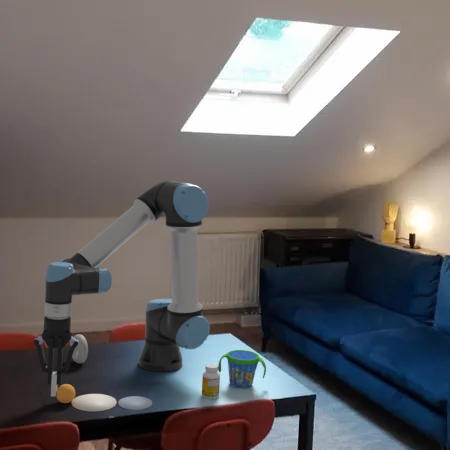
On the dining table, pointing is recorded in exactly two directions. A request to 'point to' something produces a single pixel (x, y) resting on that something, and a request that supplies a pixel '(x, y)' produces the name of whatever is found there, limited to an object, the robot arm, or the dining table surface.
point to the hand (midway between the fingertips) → (53, 394)
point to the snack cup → (242, 367)
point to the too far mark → (135, 403)
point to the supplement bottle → (211, 382)
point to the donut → (80, 349)
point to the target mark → (94, 402)
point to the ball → (65, 393)
